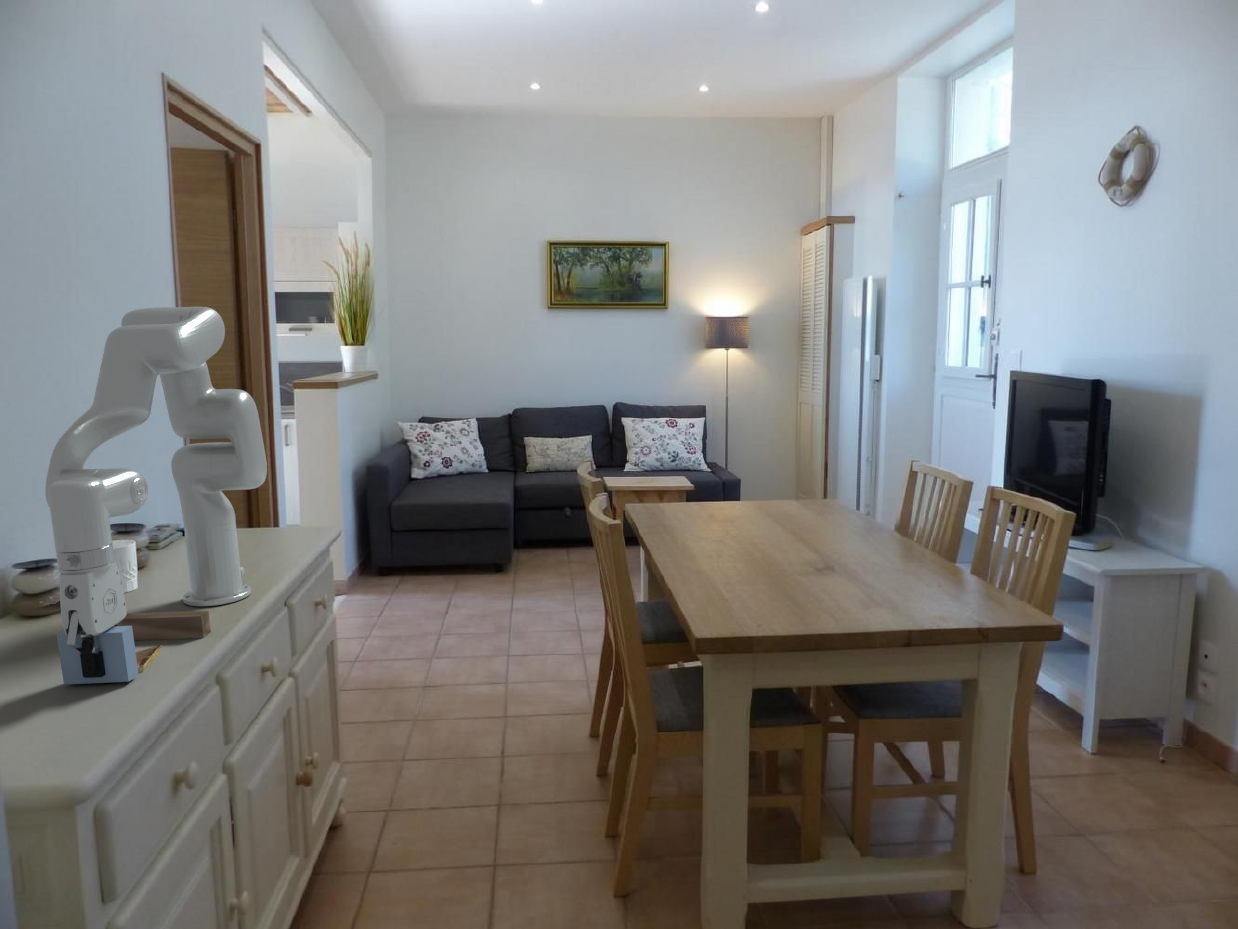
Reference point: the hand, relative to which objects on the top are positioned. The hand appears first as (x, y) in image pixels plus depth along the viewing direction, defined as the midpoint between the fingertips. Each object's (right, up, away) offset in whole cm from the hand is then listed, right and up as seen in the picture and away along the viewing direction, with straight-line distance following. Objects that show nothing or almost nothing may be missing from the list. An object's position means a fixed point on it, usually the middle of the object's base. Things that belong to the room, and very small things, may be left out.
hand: (100, 671), depth 143 cm
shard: (0, -1, +8) cm, 8 cm away
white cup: (-25, +5, +51) cm, 56 cm away
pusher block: (0, -1, 0) cm, 1 cm away
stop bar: (0, +2, +21) cm, 21 cm away
